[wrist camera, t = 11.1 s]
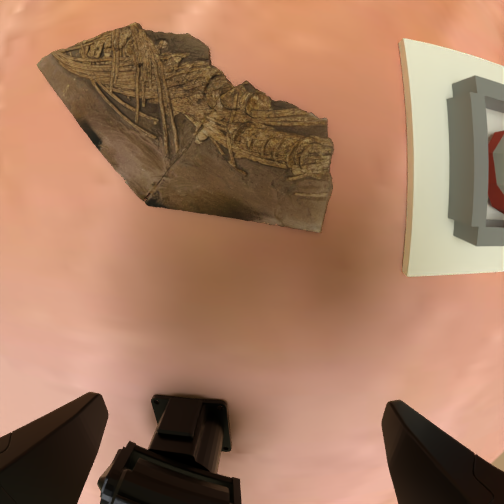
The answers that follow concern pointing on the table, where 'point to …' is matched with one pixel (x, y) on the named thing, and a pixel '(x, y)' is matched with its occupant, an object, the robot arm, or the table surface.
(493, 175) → the beverage can
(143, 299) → the table surface
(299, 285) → the table surface
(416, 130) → the can holder
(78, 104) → the brown fossil slab
